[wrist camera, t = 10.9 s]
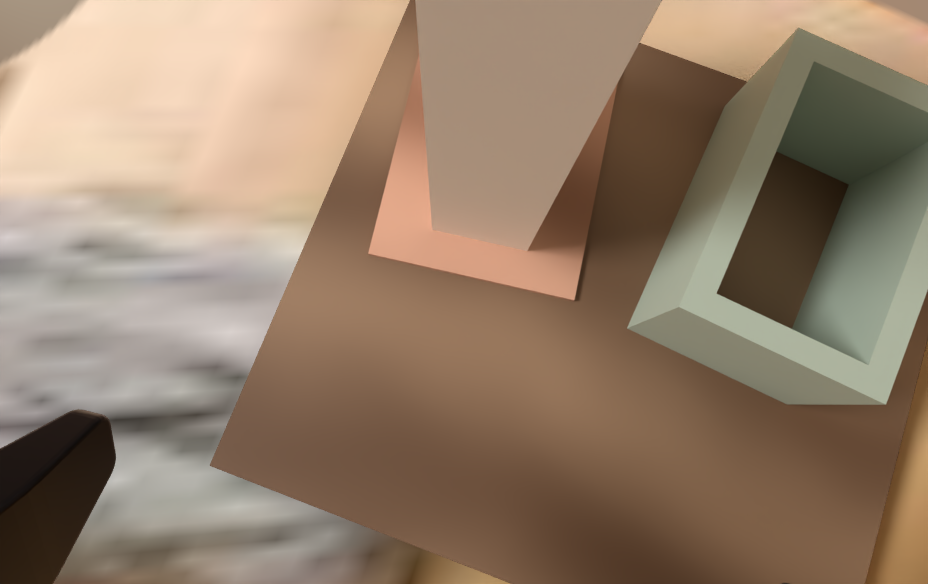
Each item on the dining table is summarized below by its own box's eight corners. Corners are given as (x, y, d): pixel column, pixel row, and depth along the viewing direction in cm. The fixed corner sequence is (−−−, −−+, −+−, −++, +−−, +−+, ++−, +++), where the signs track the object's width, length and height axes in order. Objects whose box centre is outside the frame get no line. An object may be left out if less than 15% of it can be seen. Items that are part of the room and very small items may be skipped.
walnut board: (810, 691, 17) (836, 712, 16) (222, 461, 18) (207, 466, 17) (946, 175, 20) (977, 161, 19) (426, -14, 20) (424, -38, 19)
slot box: (786, 404, 18) (885, 404, 14) (627, 328, 18) (678, 306, 14) (876, 175, 19) (991, 114, 15) (724, 106, 19) (798, 27, 15)
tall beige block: (527, 251, 18) (687, -48, 6) (432, 229, 18) (407, -109, 6) (563, 80, 19) (766, -473, 7) (472, 60, 19) (520, -527, 7)
